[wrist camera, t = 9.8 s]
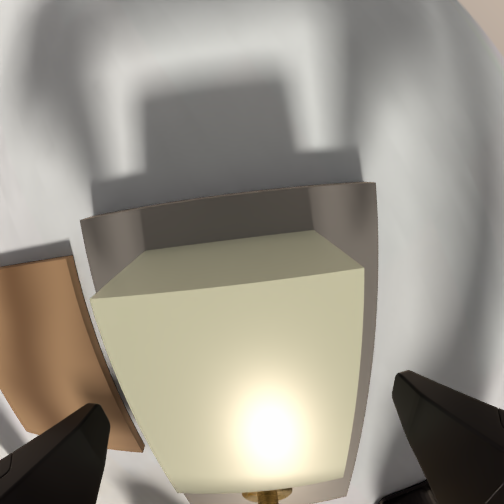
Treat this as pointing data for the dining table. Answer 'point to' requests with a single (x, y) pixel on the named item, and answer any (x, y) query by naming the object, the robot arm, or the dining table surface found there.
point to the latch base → (244, 226)
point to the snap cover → (239, 358)
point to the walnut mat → (54, 351)
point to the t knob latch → (267, 496)
